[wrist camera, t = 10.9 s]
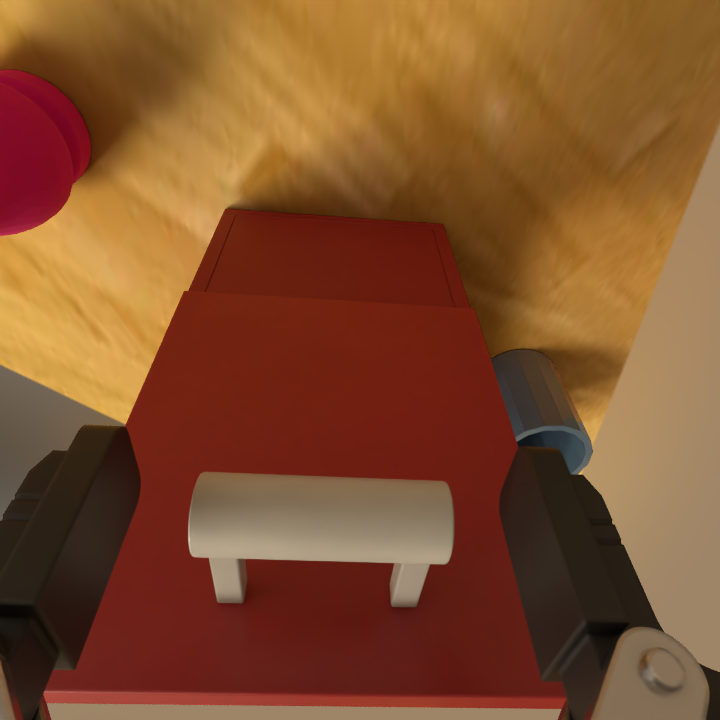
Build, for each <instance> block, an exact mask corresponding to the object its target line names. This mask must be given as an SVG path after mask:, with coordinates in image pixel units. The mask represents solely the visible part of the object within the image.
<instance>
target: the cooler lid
mask: <svg viewBox="0 0 720 720" xmlns="http://www.w3.org/2000/svg"><path fill="white" fill-rule="evenodd" d="M125 427H126V428H127V430H128V432H129V435H130V439H131V443H132V446H133V450H134V453H135V457H136V461H137V464H138V468H139V472H140V477H141V489H140V496H139V500H138V504H137V507H136V509H135V512H134V515H133V517H132V520H131V523H130V525H129V528H128V531H127V533H126V536H125V539H124V541H123V544H122V547H121V549H120V552H119V555H118V557H117V560H116V563H115V565H114V568H113V571H112V573H111V576H110V579H109V581H108V584H107V587H106V589H105V592H104V595H103V597H102V600H101V603H100V605H99V608H98V611H97V613H96V616H95V619H94V621H93V624H92V627H91V629H90V632H89V635H88V637H87V640H86V643H85V645H84V648H83V651H82V653H81V656H80V659H79V661H78V664H77V667H76V669H75V670H53V671H52V674H51V676H50V679H49V681H48V683H47V686H46V688H45V691H44V693H43V695H44V697H45V700H46V703H85V704H86V703H87V704H90V703H91V704H175V705H177V704H178V705H264V706H266V705H267V706H354V707H361V706H362V707H441V708H443V707H444V708H532V709H533V708H534V709H562V707H563V705H564V703H565V701H566V700H567V698H566V695H565V691H564V687H563V684H562V682H543V681H542V680H541V677H540V673H539V669H538V665H537V661H536V657H535V653H534V649H533V645H532V641H531V637H530V633H529V629H528V626H527V622H526V618H525V614H524V610H523V606H522V602H521V598H520V594H519V590H518V586H517V582H516V578H515V574H514V571H513V567H512V563H511V559H510V555H509V551H508V547H507V543H506V539H505V535H504V531H503V527H502V523H501V519H500V512H499V498H500V493H501V489H502V487H503V484H504V481H505V479H506V476H507V474H508V471H509V469H510V466H511V464H512V461H513V459H514V456H515V454H516V451H517V449H518V448H519V447H518V444H517V441H516V438H515V435H514V432H513V428H512V425H511V422H510V419H509V416H508V413H507V409H506V406H505V403H504V400H503V397H502V394H501V390H500V387H499V384H498V381H497V378H496V375H495V371H494V368H493V365H492V362H491V359H490V356H489V352H488V349H487V346H486V343H485V340H484V337H483V333H482V330H481V327H480V324H479V321H478V318H477V314H476V311H475V309H474V308H459V307H443V306H426V305H409V304H393V303H376V302H360V301H343V300H327V299H310V298H294V297H277V296H261V295H244V294H227V293H211V292H194V291H184V293H183V295H182V297H181V299H180V302H179V304H178V306H177V309H176V311H175V313H174V315H173V318H172V320H171V322H170V325H169V327H168V329H167V331H166V334H165V336H164V338H163V341H162V343H161V345H160V347H159V350H158V352H157V354H156V357H155V359H154V361H153V363H152V366H151V368H150V370H149V373H148V375H147V377H146V379H145V382H144V384H143V386H142V389H141V391H140V393H139V395H138V398H137V400H136V402H135V405H134V407H133V409H132V412H131V414H130V416H129V418H128V421H127V423H126V425H125Z"/></svg>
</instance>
